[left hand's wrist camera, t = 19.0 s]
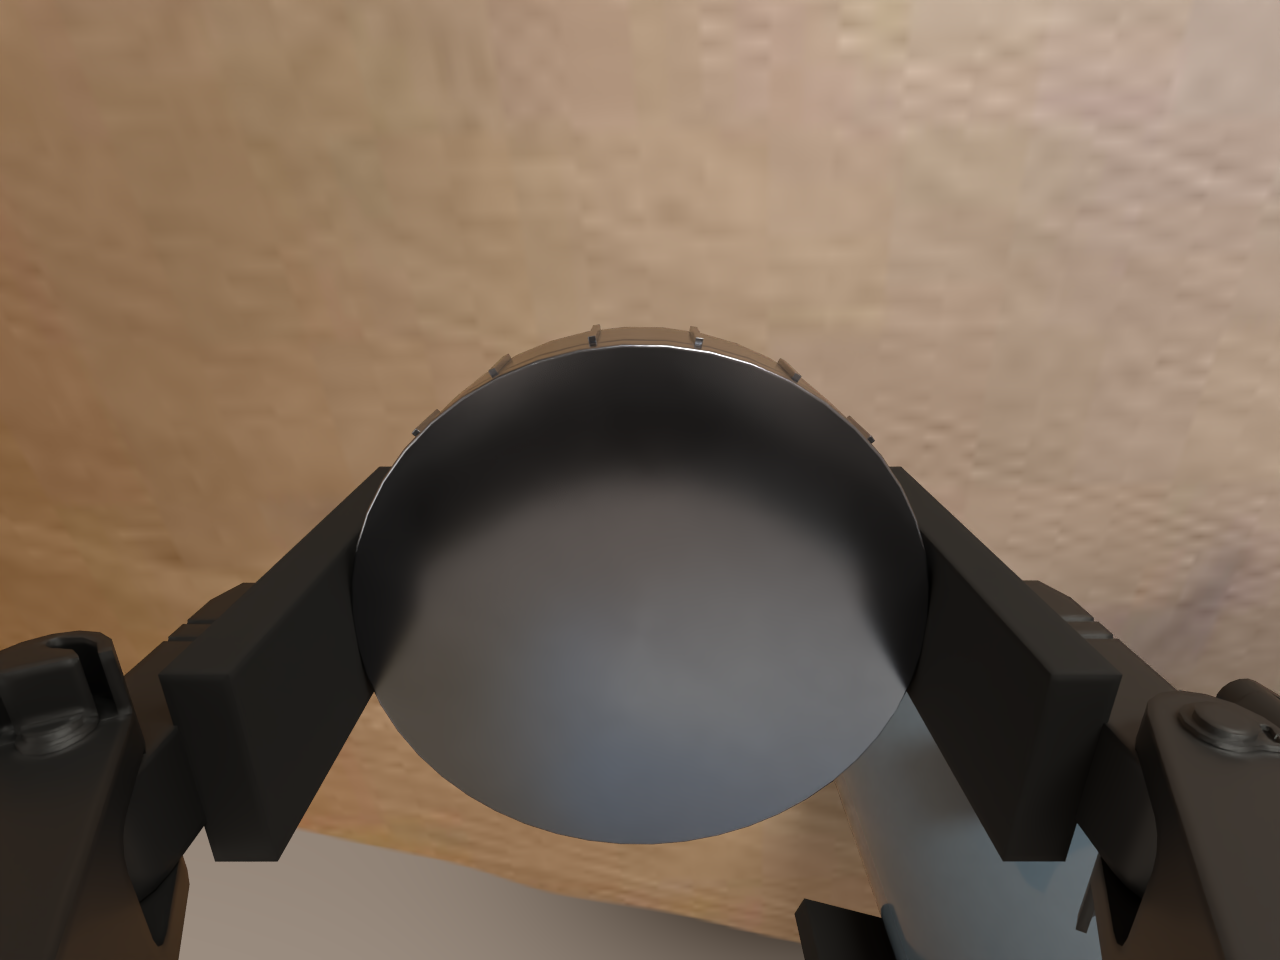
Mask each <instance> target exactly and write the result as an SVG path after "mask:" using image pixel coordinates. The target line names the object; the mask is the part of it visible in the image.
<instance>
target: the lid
mask: <svg viewBox="0 0 1280 960" xmlns="http://www.w3.org/2000/svg"><path fill="white" fill-rule="evenodd" d="M412 434H413V435H414V436H415V438H414V439H413V440H412V441H411V442H410V443H409V444H408V445H407V446H406V447H405V449H404V450H403V451H402V453H401V454H400V455H399V457H398V458H397V460H396V461H395V463H394V464H393V465H392V467H391V468H390V470H389V471H388V473H387V474H386V476H385V477H384V478H383V480H382V482H381V484H380V486H379V488H378V490H377V492H376V494H375V496H374V498H373V500H372V502H371V504H370V506H369V508H368V510H367V513H366V516H365V519H364V522H363V526H362V529H361V532H360V535H359V538H358V542H357V545H356V551H355V558H354V565H353V572H352V578H351V584H352V615H353V621H354V627H355V633H356V638H357V644H358V649H359V653H360V656H361V659H362V663H363V666H364V669H365V672H366V675H367V677H368V680H369V682H370V684H371V686H372V688H373V690H374V692H375V694H376V696H377V698H378V700H379V702H380V704H381V706H382V708H383V709H384V711H385V712H386V714H387V715H388V717H389V718H390V720H391V721H392V723H393V724H394V726H395V727H396V729H397V730H398V732H399V733H400V734H401V735H402V736H403V738H404V739H405V740H406V741H407V742H408V743H409V745H410V746H411V747H412V748H413V749H414V750H415V752H416V753H417V754H418V755H419V756H420V757H421V758H422V759H423V760H424V761H426V762H427V763H428V764H429V765H430V766H431V767H432V768H433V769H434V770H435V771H437V772H438V773H439V774H440V775H441V776H442V777H443V778H445V779H446V780H447V781H449V782H450V783H452V784H453V785H454V786H456V787H457V788H459V789H460V790H461V791H463V792H464V793H465V794H467V795H468V796H470V797H472V798H474V799H475V800H477V801H479V802H481V803H482V804H484V805H486V806H488V807H490V808H491V809H493V810H495V811H497V812H499V813H501V814H504V815H506V816H508V817H511V818H513V819H515V820H518V821H520V822H522V823H524V824H527V825H530V826H533V827H537V828H540V829H543V830H546V831H549V832H553V833H556V834H560V835H565V836H570V837H574V838H579V839H584V840H589V841H598V842H608V843H617V844H662V843H673V842H685V841H690V840H696V839H701V838H706V837H712V836H717V835H721V834H724V833H728V832H731V831H734V830H738V829H741V828H745V827H748V826H751V825H753V824H756V823H758V822H760V821H763V820H765V819H768V818H770V817H773V816H775V815H778V814H780V813H782V812H783V811H785V810H787V809H789V808H791V807H793V806H795V805H796V804H798V803H800V802H802V801H804V800H806V799H807V798H809V797H810V796H812V795H813V794H815V793H816V792H818V791H819V790H821V789H822V788H824V787H825V786H826V785H828V784H829V783H831V782H832V781H834V780H835V779H836V778H837V777H838V776H839V775H840V774H842V773H843V772H844V771H845V770H846V769H847V768H849V767H850V766H851V765H852V764H853V763H854V762H855V761H857V760H858V759H859V757H860V756H861V755H862V754H863V753H864V752H865V751H866V750H867V749H868V747H869V746H870V745H871V744H872V743H873V742H874V741H875V740H876V739H877V738H878V736H879V735H880V734H881V732H882V731H883V729H884V728H885V726H886V725H887V724H888V722H889V721H890V719H891V718H892V716H893V715H894V713H895V712H896V711H897V709H898V707H899V705H900V703H901V701H902V699H903V697H904V695H905V693H906V691H907V689H908V687H909V686H910V684H911V682H912V679H913V676H914V673H915V670H916V667H917V664H918V662H919V659H920V656H921V652H922V647H923V641H924V636H925V630H926V625H927V619H928V611H929V577H928V568H927V559H926V551H925V548H924V544H923V541H922V537H921V533H920V530H919V526H918V523H917V519H916V517H915V514H914V512H913V510H912V508H911V506H910V503H909V501H908V499H907V497H906V495H905V492H904V490H903V488H902V486H901V484H900V483H899V481H898V480H897V478H896V477H895V475H894V474H893V472H892V471H891V469H890V468H889V466H888V464H887V463H886V461H885V460H884V458H883V457H882V455H881V454H880V453H879V452H878V451H877V450H876V449H875V447H874V446H873V445H872V444H871V443H873V442H874V441H875V440H874V439H873V437H872V436H871V435H870V434H869V433H868V432H867V431H866V430H864V429H863V428H862V427H861V426H860V425H859V424H858V423H857V422H856V421H855V420H854V419H853V418H851V417H850V416H848V417H847V418H846V417H845V416H844V415H843V414H842V413H841V412H840V411H839V410H838V409H837V408H836V407H835V406H834V405H832V404H831V403H830V402H829V401H828V400H827V399H826V398H825V397H824V396H822V395H821V394H820V393H819V392H818V391H816V390H815V389H814V388H813V387H812V386H810V385H809V384H808V383H807V382H806V381H804V380H803V379H802V378H801V375H800V374H799V373H798V372H797V371H795V370H794V369H793V368H792V367H791V366H790V365H789V364H788V363H787V362H786V361H785V360H783V359H781V358H780V359H779V361H778V363H777V362H775V361H774V360H772V359H770V358H768V357H766V356H764V355H762V354H759V353H757V352H755V351H753V350H750V349H748V348H746V347H743V346H741V345H739V344H737V343H733V342H730V341H726V340H723V339H720V338H716V337H713V336H709V335H706V334H702V333H700V332H699V330H698V328H697V327H694V326H690V331H683V330H677V329H670V328H663V327H621V328H612V329H604V330H601V329H600V325H593V327H592V329H591V331H588V332H584V333H580V334H576V335H572V336H568V337H564V338H560V339H557V340H553V341H550V342H547V343H545V344H542V345H540V346H538V347H535V348H533V349H530V350H528V351H525V352H523V353H520V354H518V355H516V356H514V357H513V358H511V357H510V355H509V354H507V355H505V356H503V357H502V358H501V359H500V360H499V361H498V362H497V363H496V364H495V365H494V366H493V367H492V368H491V369H490V370H489V371H488V372H487V373H485V374H484V375H483V376H482V377H480V378H479V379H478V380H476V381H475V382H474V383H473V384H471V385H470V386H469V387H468V388H466V389H465V390H464V391H463V392H461V393H460V394H459V395H458V396H457V397H456V398H454V399H453V400H452V401H451V402H450V403H449V404H448V405H447V406H446V407H445V408H444V409H443V410H442V411H441V412H440V411H439V410H438V409H436V410H435V411H434V412H433V413H432V414H431V415H430V416H429V417H428V418H426V419H425V420H424V421H423V422H422V423H421V424H420V425H419V426H418V427H417V428H416V429H415V430H414V431H413V432H412Z"/></svg>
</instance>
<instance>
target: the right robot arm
mask: <svg viewBox="0 0 1280 960" xmlns="http://www.w3.org/2000/svg"><path fill="white" fill-rule="evenodd" d="M1216 698H1219V699H1222V700H1226V701H1229V702H1232V703H1235V704H1237V705H1239V706H1241V707H1243V708H1246V709H1248V710H1250V711H1252V712H1254V713H1256V714H1258V715H1260V716H1262V717H1264V718H1266V719H1267V720H1268V721H1270V722H1271V723H1273V724H1274V725H1276V726H1277V727H1279V728H1280V696H1279V695H1278V694H1276V693H1274V692H1273V691H1271V690H1269V689H1268V688H1266V687H1264V686H1263V685H1261V684H1259V683H1258V682H1256V681H1253V680H1250V679H1238V680H1235V681H1232V682H1230V683H1228V684H1227V685H1225V686H1224V687H1223V688H1222V689H1221V690H1220V691H1219V692H1218V694H1217V696H1216ZM795 918H796V922H797V926H798V931H799V935H800V940H801V944H802V949H803V953H804V958H805V960H896V958H895V955H894V952H893V949H892V946H891V943H890V940H889V937H888V934H887V932H886V929H885V926H884V923H883V920H882V918H880V917H876V916H872V915H868V914H864V913H860V912H856V911H852V910H848V909H844V908H840V907H836V906H832V905H828V904H824V903H820V902H816V901H812V900H808V899H804V900H803V901H802V903H801V904H800V906H799V908H798V909H797V911H796V912H795Z"/></svg>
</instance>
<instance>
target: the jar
mask: <svg viewBox="0 0 1280 960" xmlns="http://www.w3.org/2000/svg"><path fill="white" fill-rule="evenodd" d="M834 781H835V784H836V787H837V790H838V793H839V796H840V799H841V801H842V804H843V807H844V810H845V813H846V816H847V819H848V822H849V825H850V827H851V830H852V833H853V836H854V839H855V842H856V845H857V848H858V851H859V853H860V856H861V859H862V862H863V865H864V868H865V871H866V874H867V877H868V880H869V882H870V885H871V888H872V891H873V894H874V897H875V900H876V903H877V906H878V908H879V911H880V914H881V917H882V920H883V923H884V926H885V929H886V932H887V934H888V937H889V940H890V943H891V946H892V949H893V952H894V955H895V958H896V960H1102V956H1101V949H1100V943H1099V936H1098V929H1097V923H1096V916H1094V917H1092V919H1091V922H1090V925H1089V928H1088V931H1087V933H1084V932H1081V931H1078V930H1076V923H1077V917H1078V913H1079V910H1080V907H1081V904H1082V901H1083V897H1084V894H1085V891H1086V888H1087V885H1088V882H1089V879H1090V876H1091V873H1092V870H1093V867H1094V864H1095V861H1096V858H1097V855H1098V851H1097V850H1096V848H1095V847H1094V846H1093V844H1092V843H1091V841H1090V840H1089V839H1088V837H1087V836H1086V835H1085V833H1084V832H1083V830H1082V829H1081V828H1080V826H1079V825H1078V824H1077V825H1076V828H1075V832H1074V835H1073V838H1072V841H1071V845H1070V848H1069V851H1068V854H1067V858H1066V861H1065V862H1003V861H1002V859H1001V857H1000V856H999V854H998V852H997V850H996V849H995V847H994V845H993V843H992V842H991V840H990V838H989V836H988V834H987V833H986V831H985V829H984V827H983V826H982V824H981V822H980V820H979V819H978V817H977V815H976V813H975V812H974V810H973V808H972V806H971V804H970V803H969V801H968V799H967V797H966V796H965V794H964V792H963V790H962V789H961V787H960V785H959V783H958V782H957V780H956V778H955V776H954V774H953V773H952V771H951V769H950V767H949V766H948V764H947V762H946V760H945V759H944V757H943V755H942V753H941V752H940V750H939V748H938V746H937V744H936V743H935V741H934V739H933V737H932V736H931V734H930V732H929V730H928V729H927V727H926V725H925V723H924V722H923V720H922V718H921V716H920V715H919V713H918V711H917V709H916V707H915V706H914V704H913V702H912V700H911V699H910V697H909V695H908V693H907V692H906V693H905V695H904V697H903V699H902V701H901V703H900V705H899V707H898V709H897V711H896V712H895V713H894V715H893V716H892V718H891V719H890V721H889V722H888V724H887V725H886V726H885V728H884V729H883V731H882V732H881V734H880V735H879V736H878V738H877V739H876V740H875V741H874V742H873V743H872V744H871V745H870V746H869V747H868V749H867V750H866V751H865V752H864V753H863V754H862V755H861V756H860V757H859V759H858V760H857V761H855V762H854V763H853V764H852V765H851V766H850V767H849V768H847V769H846V770H845V771H844V772H843V773H842V774H840V775H839V776H838V777H837V778H836V779H835V780H834Z"/></svg>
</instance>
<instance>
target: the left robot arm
mask: <svg viewBox="0 0 1280 960" xmlns="http://www.w3.org/2000/svg"><path fill="white" fill-rule="evenodd" d="M390 468H391V467H379V468H378V469H376V470H375V471H374V472H373V473H372V474H371V475H370V476H369V477H368V478H367V479H366V480H365V481H364V482H363V483H362V484H361V485H359V486H358V487H357V488H356V489H355V490H354V491H353V492H352V493H351V494H350V495H349V496H348V497H347V498H346V499H345V500H343V501H342V502H341V503H340V504H339V505H338V506H337V507H336V508H335V509H334V510H333V511H332V512H331V513H330V514H329V515H327V516H326V517H325V518H324V519H323V520H322V521H321V522H320V523H319V524H318V525H317V526H316V527H315V528H314V529H313V530H311V531H310V532H309V533H308V534H307V535H306V536H305V537H304V538H303V539H302V540H301V541H300V542H299V543H298V544H297V545H295V546H294V547H293V548H292V549H291V550H290V551H289V552H288V553H287V554H286V555H285V556H284V557H283V558H282V559H281V560H279V561H278V562H277V563H276V564H275V565H274V566H273V567H272V568H271V569H270V570H269V571H268V572H267V573H266V574H265V575H264V576H262V577H261V578H260V579H259V580H258V581H257V582H256V583H242V584H240V585H238V586H236V587H234V588H232V589H230V590H229V591H227V592H225V593H223V594H221V595H219V596H217V597H215V598H213V599H211V600H210V601H209V602H208V603H206V604H205V605H204V606H203V607H202V608H201V609H200V610H199V611H197V612H196V613H195V614H194V615H193V616H192V617H191V618H189V619H188V623H187V624H183V625H181V626H180V627H179V628H178V629H177V630H176V631H175V632H174V633H172V634H171V635H170V636H169V637H168V638H169V639H168V641H163V642H162V643H161V644H160V645H159V646H158V647H156V648H155V649H154V650H153V651H152V652H151V653H150V654H148V655H147V656H146V657H145V658H144V659H143V660H142V661H141V662H139V663H138V664H137V665H136V666H135V667H134V668H133V669H131V670H130V671H129V672H128V673H127V674H126V675H125V676H123V672H122V669H121V666H120V663H119V660H118V657H117V654H116V651H115V648H114V645H113V642H112V639H110V638H109V637H107V636H105V635H104V634H102V633H100V632H90V631H72V632H64V633H56V634H51V635H47V636H43V637H39V638H36V639H32V640H28V641H24V642H21V643H19V644H16V645H14V646H11V647H9V648H6V649H4V650H1V651H0V960H178V958H179V951H180V945H181V938H182V931H183V925H184V918H185V911H186V904H187V898H188V891H189V878H188V871H187V867H186V864H185V861H184V858H183V854H184V853H185V851H186V850H187V849H188V847H189V846H190V844H191V843H192V842H193V840H194V839H195V838H196V836H197V835H198V833H199V832H200V831H201V829H202V828H203V826H204V827H205V830H206V833H207V836H208V840H209V843H210V846H211V849H212V852H213V856H214V859H215V861H278V860H279V858H280V856H281V855H282V853H283V851H284V849H285V848H286V846H287V844H288V842H289V841H290V839H291V837H292V835H293V834H294V832H295V830H296V828H297V826H298V825H299V823H300V821H301V819H302V818H303V816H304V814H305V812H306V811H307V809H308V807H309V805H310V804H311V802H312V800H313V798H314V796H315V795H316V793H317V791H318V789H319V788H320V786H321V784H322V782H323V781H324V779H325V777H326V775H327V774H328V772H329V770H330V768H331V766H332V765H333V763H334V761H335V759H336V758H337V756H338V754H339V752H340V751H341V749H342V747H343V745H344V744H345V742H346V740H347V738H348V736H349V735H350V733H351V731H352V729H353V728H354V726H355V724H356V722H357V721H358V719H359V717H360V715H361V714H362V712H363V710H364V708H365V706H366V705H367V703H368V701H369V699H370V698H371V696H372V694H373V692H374V690H373V688H372V686H371V684H370V682H369V680H368V677H367V675H366V672H365V669H364V666H363V663H362V659H361V656H360V653H359V649H358V644H357V638H356V633H355V627H354V621H353V615H352V584H351V578H352V572H353V565H354V558H355V551H356V545H357V542H358V538H359V535H360V532H361V529H362V526H363V522H364V519H365V516H366V513H367V510H368V508H369V506H370V504H371V502H372V500H373V498H374V496H375V494H376V492H377V490H378V488H379V486H380V484H381V482H382V480H383V478H384V477H385V476H386V474H387V473H388V471H389V470H390ZM889 468H890V469H891V471H892V472H893V474H894V475H895V477H896V478H897V480H898V481H899V483H900V484H901V486H902V488H903V490H904V492H905V495H906V497H907V499H908V501H909V503H910V506H911V508H912V510H913V512H914V514H915V517H916V519H917V523H918V526H919V530H920V533H921V537H922V541H923V544H924V548H925V551H926V559H927V568H928V577H929V611H928V619H927V625H926V630H925V636H924V641H923V647H922V652H921V656H920V659H919V662H918V664H917V667H916V670H915V673H914V676H913V679H912V682H911V684H910V686H909V687H908V689H907V691H906V692H907V693H908V695H909V697H910V699H911V700H912V702H913V704H914V706H915V707H916V709H917V711H918V713H919V715H920V716H921V718H922V720H923V722H924V723H925V725H926V727H927V729H928V730H929V732H930V734H931V736H932V737H933V739H934V741H935V743H936V744H937V746H938V748H939V750H940V752H941V753H942V755H943V757H944V759H945V760H946V762H947V764H948V766H949V767H950V769H951V771H952V773H953V774H954V776H955V778H956V780H957V782H958V783H959V785H960V787H961V789H962V790H963V792H964V794H965V796H966V797H967V799H968V801H969V803H970V804H971V806H972V808H973V810H974V812H975V813H976V815H977V817H978V819H979V820H980V822H981V824H982V826H983V827H984V829H985V831H986V833H987V834H988V836H989V838H990V840H991V842H992V843H993V845H994V847H995V849H996V850H997V852H998V854H999V856H1000V857H1001V859H1002V861H1003V862H1065V861H1066V858H1067V854H1068V851H1069V848H1070V845H1071V841H1072V838H1073V835H1074V832H1075V828H1076V825H1077V824H1078V825H1079V826H1080V828H1081V829H1082V830H1083V832H1084V833H1085V835H1086V836H1087V837H1088V839H1089V840H1090V841H1091V843H1092V844H1093V846H1094V847H1095V848H1096V850H1097V851H1098V855H1097V858H1096V861H1095V864H1094V867H1093V870H1092V873H1091V876H1090V879H1089V882H1088V885H1087V888H1086V891H1085V894H1084V897H1083V901H1082V904H1081V907H1080V910H1079V913H1078V917H1077V923H1076V930H1078V931H1081V932H1084V933H1087V931H1088V928H1089V925H1090V922H1091V919H1092V917H1094V916H1096V923H1097V929H1098V936H1099V943H1100V949H1101V956H1102V960H1280V728H1279V727H1277V726H1276V725H1274V724H1273V723H1271V722H1270V721H1268V720H1267V719H1266V718H1264V717H1262V716H1260V715H1258V714H1256V713H1254V712H1252V711H1250V710H1248V709H1246V708H1243V707H1241V706H1239V705H1237V704H1235V703H1232V702H1229V701H1226V700H1222V699H1219V698H1216V697H1213V696H1210V695H1206V694H1200V693H1193V692H1186V691H1177V690H1176V689H1175V688H1174V687H1173V686H1171V685H1170V684H1169V683H1168V682H1167V681H1166V680H1165V679H1163V678H1162V677H1161V676H1160V675H1159V674H1158V673H1156V672H1155V671H1154V670H1153V669H1152V668H1151V667H1150V666H1148V665H1147V664H1146V663H1145V662H1144V661H1143V660H1142V659H1140V658H1139V657H1138V656H1137V655H1136V654H1135V653H1134V652H1132V651H1131V650H1130V649H1129V648H1128V647H1127V646H1126V645H1124V644H1123V643H1122V642H1121V641H1120V640H1119V639H1113V634H1112V633H1111V632H1109V631H1108V630H1107V629H1106V628H1105V627H1104V626H1103V625H1101V624H1100V623H1099V622H1094V618H1093V617H1092V616H1091V615H1090V614H1089V613H1088V612H1087V611H1085V610H1084V609H1083V608H1082V607H1081V606H1080V605H1079V604H1077V603H1076V602H1075V601H1074V600H1073V599H1072V598H1070V597H1068V596H1067V595H1065V594H1063V593H1061V592H1059V591H1057V590H1055V589H1053V588H1051V587H1049V586H1047V585H1045V584H1044V583H1042V582H1040V581H1022V580H1021V579H1020V578H1019V577H1018V576H1017V575H1016V574H1015V573H1014V572H1013V571H1012V570H1011V569H1010V568H1008V567H1007V566H1006V565H1005V564H1004V563H1003V562H1002V561H1001V560H1000V559H999V558H998V557H997V556H996V555H995V554H994V553H992V552H991V551H990V550H989V549H988V548H987V547H986V546H985V545H984V544H983V543H982V542H981V541H980V540H979V539H978V538H976V537H975V536H974V535H973V534H972V533H971V532H970V531H969V530H968V529H967V528H966V527H965V526H964V525H963V524H962V523H960V522H959V521H958V520H957V519H956V518H955V517H954V516H953V515H952V514H951V513H950V512H949V511H948V510H947V509H946V508H944V507H943V506H942V505H941V504H940V503H939V502H938V501H937V500H936V499H935V498H934V497H933V496H932V495H931V494H930V493H928V492H927V491H926V490H925V489H924V488H923V487H922V486H921V485H920V484H919V483H918V482H917V481H916V480H915V479H914V478H913V477H911V476H910V475H909V474H908V473H907V472H906V471H905V470H904V469H903V468H902V467H889Z"/></svg>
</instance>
